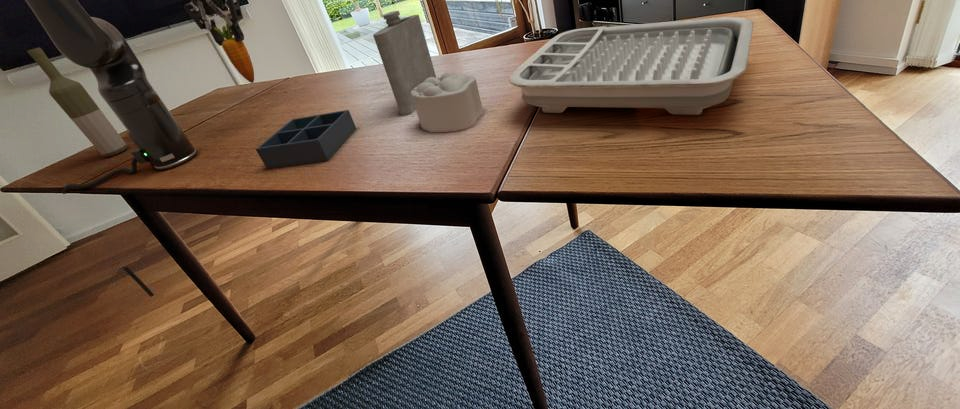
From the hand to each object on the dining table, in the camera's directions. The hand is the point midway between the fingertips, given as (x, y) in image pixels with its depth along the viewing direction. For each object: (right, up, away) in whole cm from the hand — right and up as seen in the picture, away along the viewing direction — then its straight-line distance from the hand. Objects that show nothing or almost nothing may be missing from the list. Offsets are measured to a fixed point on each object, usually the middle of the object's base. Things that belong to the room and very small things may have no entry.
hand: (231, 42), depth 103 cm
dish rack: (+91, -19, -26) cm, 96 cm away
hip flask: (+48, -16, -5) cm, 51 cm away
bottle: (-44, -26, +17) cm, 54 cm away
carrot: (+2, -9, +6) cm, 11 cm away
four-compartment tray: (+27, -29, -15) cm, 42 cm away
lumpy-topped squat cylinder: (+57, -24, -19) cm, 64 cm away
